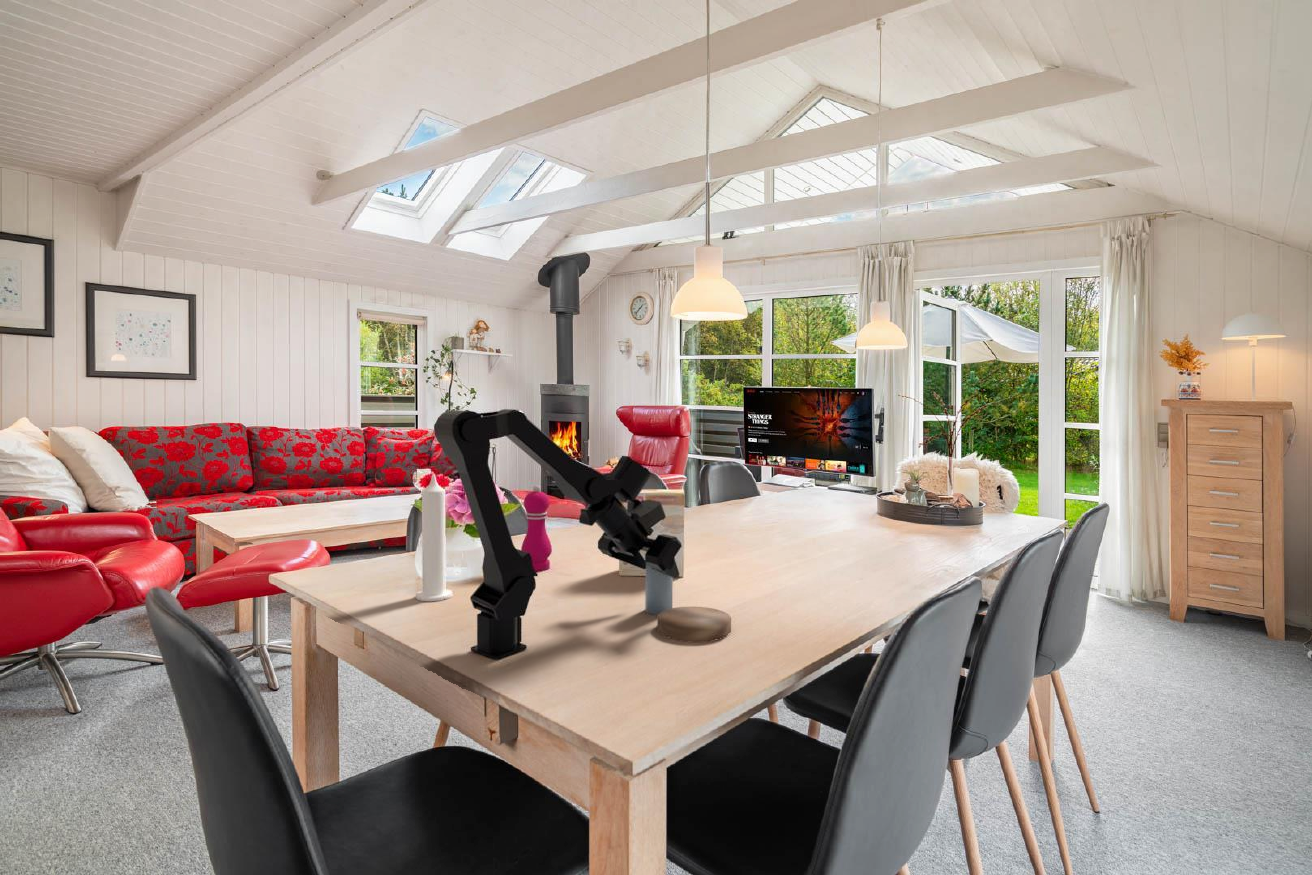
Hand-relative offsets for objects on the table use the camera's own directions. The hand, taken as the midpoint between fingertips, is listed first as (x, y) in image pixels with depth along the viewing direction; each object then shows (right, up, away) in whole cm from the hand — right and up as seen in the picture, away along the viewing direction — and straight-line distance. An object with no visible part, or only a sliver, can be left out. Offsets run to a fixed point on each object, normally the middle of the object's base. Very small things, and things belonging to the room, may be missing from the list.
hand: (661, 571), depth 135 cm
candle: (-46, -7, +8) cm, 47 cm away
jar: (0, -8, 0) cm, 8 cm away
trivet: (+6, -8, -11) cm, 15 cm away
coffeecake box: (-2, -6, +30) cm, 30 cm away
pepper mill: (-30, -6, +33) cm, 45 cm away
